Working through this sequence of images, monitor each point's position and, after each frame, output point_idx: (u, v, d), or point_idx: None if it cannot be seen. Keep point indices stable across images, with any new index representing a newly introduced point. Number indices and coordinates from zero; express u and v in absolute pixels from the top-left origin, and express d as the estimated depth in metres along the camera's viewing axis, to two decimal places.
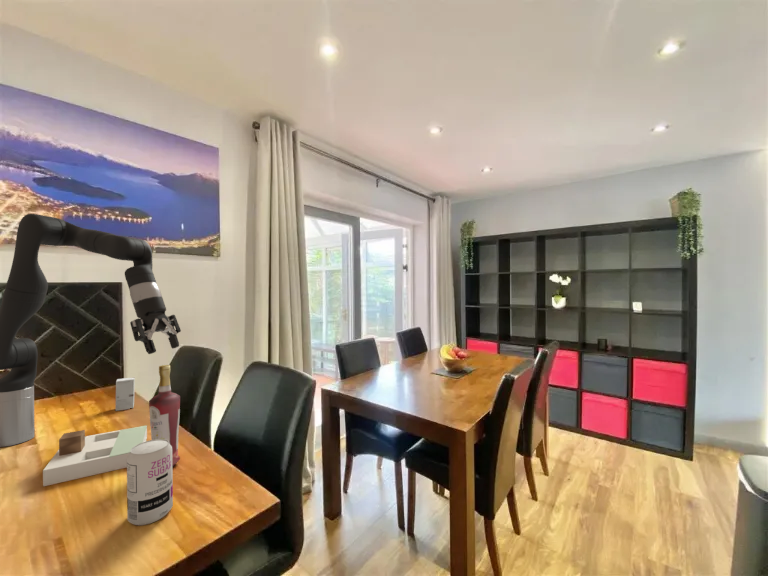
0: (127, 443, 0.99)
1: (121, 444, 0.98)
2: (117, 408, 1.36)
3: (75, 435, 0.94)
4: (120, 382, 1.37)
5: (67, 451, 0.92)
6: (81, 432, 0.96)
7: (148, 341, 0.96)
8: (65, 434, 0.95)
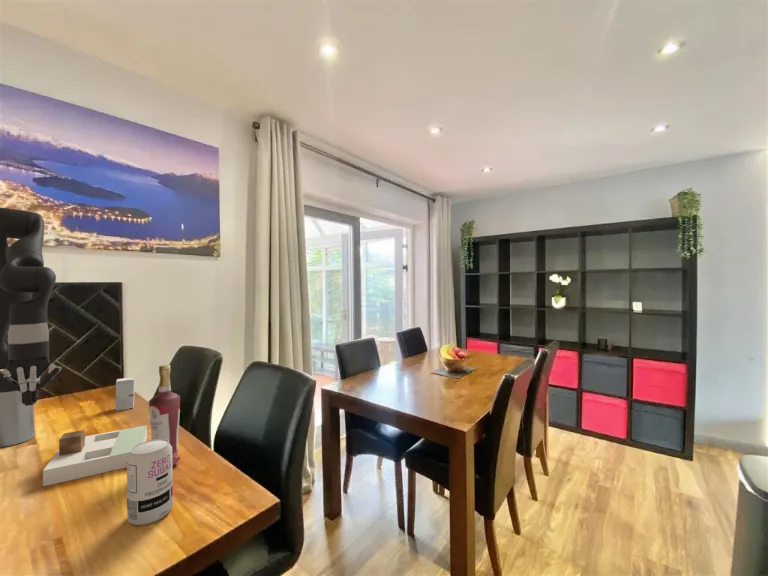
0: (127, 443, 0.99)
1: (121, 444, 0.98)
2: (117, 408, 1.36)
3: (75, 435, 0.94)
4: (120, 382, 1.37)
5: (67, 451, 0.92)
6: (81, 432, 0.96)
7: (23, 393, 0.89)
8: (65, 434, 0.95)
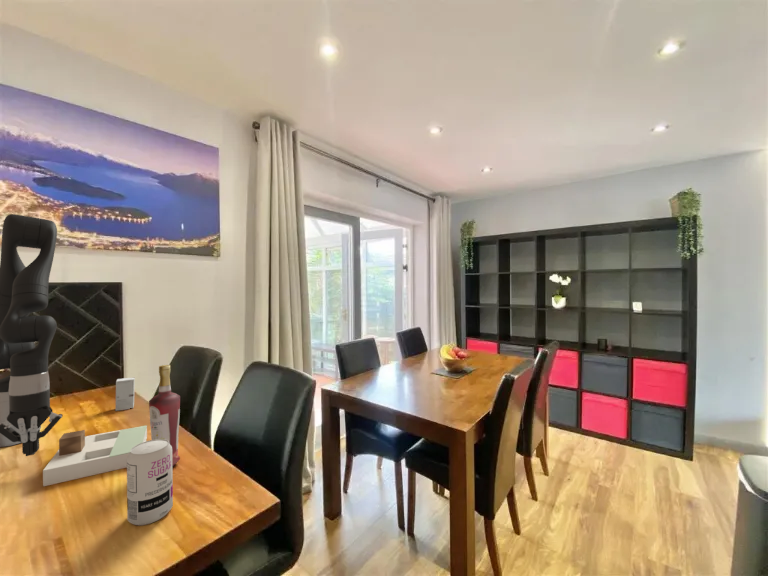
0: (127, 443, 0.99)
1: (121, 444, 0.98)
2: (117, 408, 1.36)
3: (75, 435, 0.94)
4: (120, 382, 1.37)
5: (67, 451, 0.92)
6: (81, 432, 0.96)
7: (24, 443, 0.89)
8: (65, 434, 0.95)
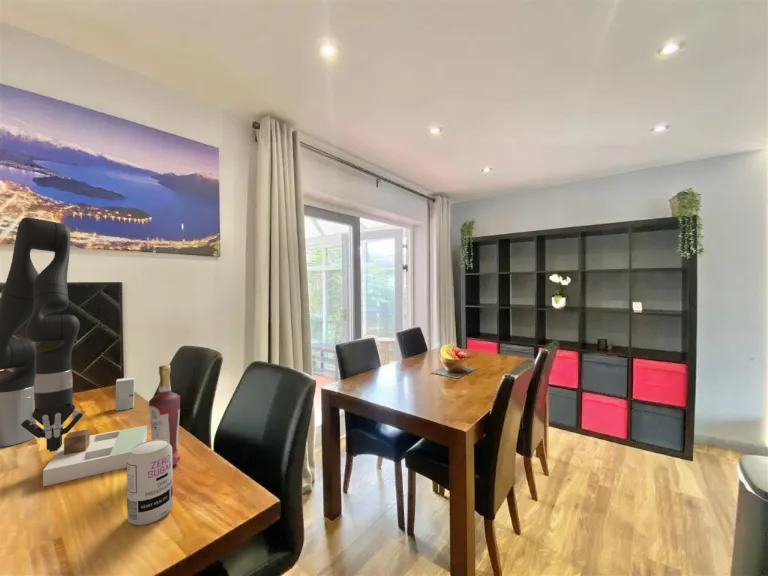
0: (127, 443, 0.99)
1: (121, 444, 0.98)
2: (117, 408, 1.36)
3: (80, 434, 0.95)
4: (120, 382, 1.37)
5: (72, 450, 0.93)
6: (86, 431, 0.96)
7: (48, 439, 0.91)
8: (70, 433, 0.95)
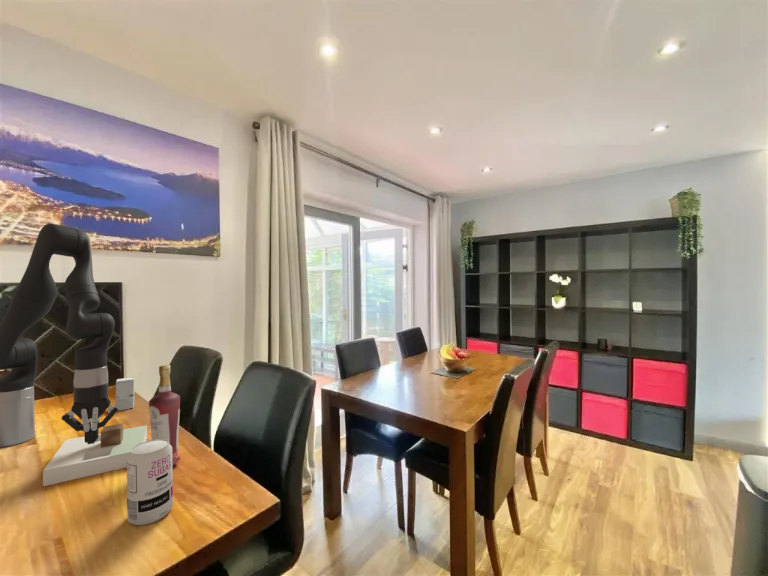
0: (127, 443, 0.99)
1: (121, 444, 0.98)
2: None
3: (115, 428, 0.99)
4: (120, 382, 1.37)
5: (108, 443, 0.97)
6: (120, 425, 1.01)
7: (86, 432, 0.95)
8: (105, 427, 0.99)
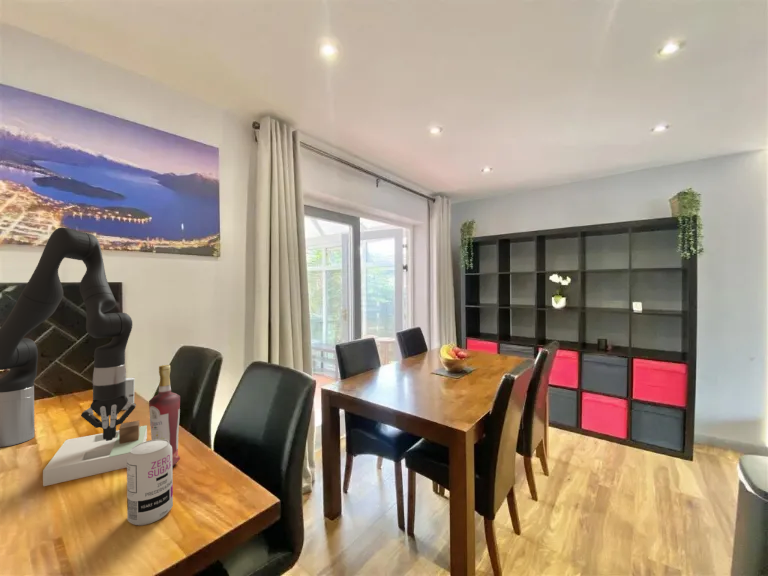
0: (127, 443, 0.99)
1: (121, 444, 0.98)
2: None
3: (133, 425, 1.01)
4: None
5: (126, 439, 0.99)
6: (137, 422, 1.03)
7: (104, 429, 0.98)
8: (123, 424, 1.02)
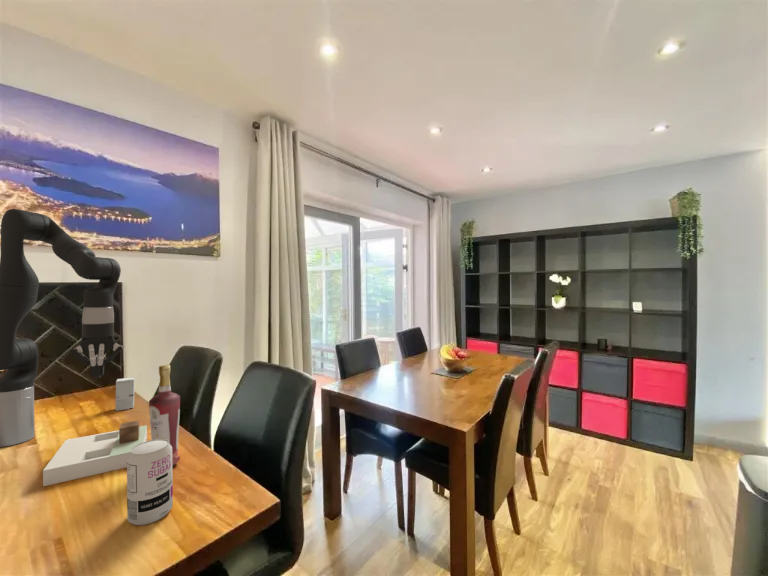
0: (127, 443, 0.99)
1: (121, 444, 0.98)
2: (117, 408, 1.36)
3: (133, 425, 1.01)
4: (120, 382, 1.37)
5: (126, 439, 0.99)
6: (137, 422, 1.03)
7: (92, 367, 1.03)
8: (123, 424, 1.02)
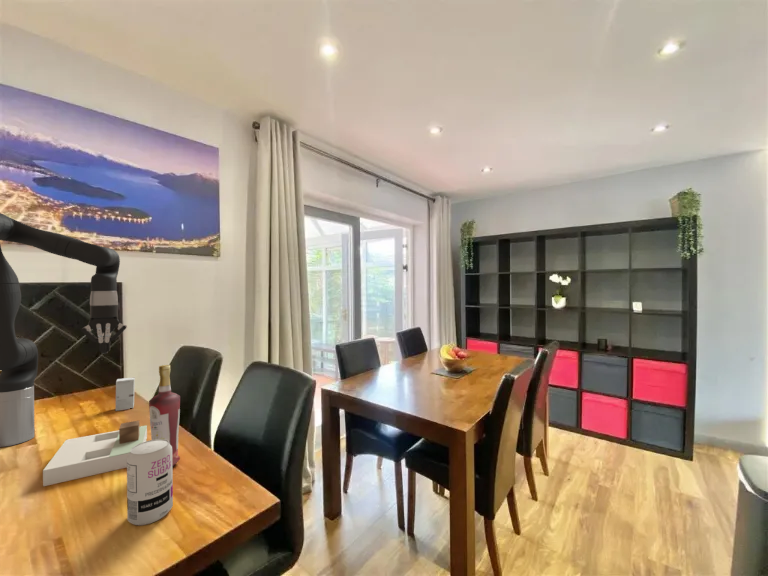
0: (127, 443, 0.99)
1: (121, 444, 0.98)
2: (117, 408, 1.36)
3: (133, 425, 1.01)
4: (120, 382, 1.37)
5: (126, 439, 0.99)
6: (137, 422, 1.03)
7: (100, 344, 1.17)
8: (123, 424, 1.02)
